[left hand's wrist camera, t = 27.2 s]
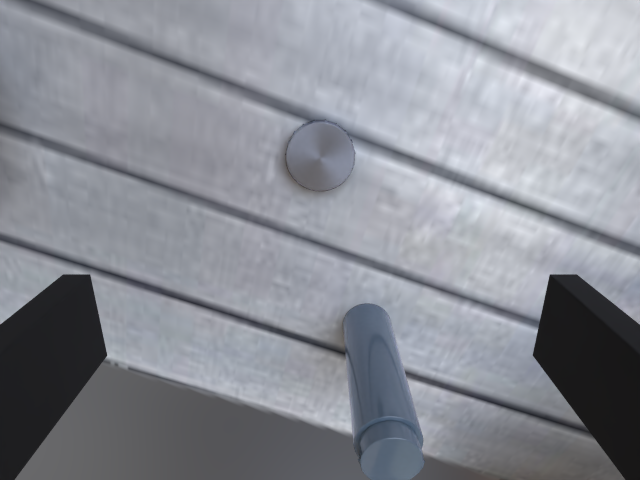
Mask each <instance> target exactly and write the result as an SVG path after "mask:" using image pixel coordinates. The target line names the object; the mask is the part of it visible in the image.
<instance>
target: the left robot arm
mask: <svg viewBox="0 0 640 480" xmlns="http://www.w3.org/2000/svg"><path fill="white" fill-rule="evenodd" d="M106 356H107V352H106V347H105V343H104V338H103V333H102V329H101V324H100V319H99V314H98V310H97V305H96V300H95V295H94V291H93V286H92V281H91V277H90V275H62V276H61V277H60V278H58V279H57V280H56V281H55V282H53V283H52V284H51V285H50V286H48V287H47V288H46V289H45V290H43V291H42V292H41V293H40V294H38V295H37V296H36V297H35V298H33V299H32V300H31V301H30V302H28V303H27V304H26V305H24V306H23V307H22V308H21V309H19V310H18V311H17V312H16V313H14V314H13V315H12V316H11V317H9V318H8V319H7V320H6V321H4V322H3V323H2V324H1V325H0V480H15V478H16V477H17V475H18V474H19V473H20V471H21V470H22V469H23V468H24V466H25V465H26V463H27V462H28V461H29V459H30V458H31V457H32V455H33V454H34V453H35V451H36V450H37V449H38V447H39V446H40V445H41V443H42V442H43V441H44V439H45V438H46V437H47V435H48V434H49V433H50V431H51V430H52V429H53V427H54V426H55V425H56V423H57V422H58V421H59V419H60V418H61V416H62V415H63V414H64V412H65V411H66V410H67V409H68V407H69V406H70V405H71V403H72V402H73V400H74V399H75V398H76V396H77V395H78V394H79V392H80V391H81V390H82V388H83V387H84V386H85V384H86V383H87V382H88V380H89V379H90V378H91V376H92V375H93V374H94V372H95V371H96V370H97V368H98V367H99V366H100V364H101V363H102V362H103V360H104V359H105V358H106ZM533 356H534V358H535V359H536V360H537V362H538V363H539V364H540V366H541V367H542V368H543V370H544V371H545V372H546V374H547V375H548V376H549V378H550V379H551V380H552V382H553V383H554V384H555V386H556V387H557V388H558V390H559V391H560V392H561V394H562V395H563V396H564V398H565V399H566V400H567V402H568V403H569V405H570V406H571V407H572V409H573V410H574V411H575V413H576V414H577V415H578V417H579V418H580V419H581V421H582V422H583V423H584V425H585V426H586V427H587V429H588V430H589V431H590V433H591V434H592V435H593V437H594V438H595V439H596V441H597V442H598V443H599V445H600V446H601V447H602V449H603V450H604V451H605V453H606V454H607V455H608V457H609V458H610V459H611V461H612V462H613V464H614V465H615V466H616V468H617V469H618V470H619V472H620V473H621V474H622V476H623V477H624V478H625V480H640V325H639V324H638V323H637V322H636V321H634V320H633V319H632V318H631V317H629V316H628V315H627V314H626V313H624V312H623V311H622V310H621V309H619V308H618V307H617V306H616V305H614V304H613V303H612V302H610V301H609V300H608V299H607V298H605V297H604V296H603V295H602V294H600V293H599V292H598V291H597V290H595V289H594V288H593V287H592V286H590V285H589V284H588V283H587V282H585V281H584V280H583V279H582V278H580V277H579V276H578V275H550V277H549V281H548V286H547V291H546V295H545V300H544V305H543V310H542V314H541V319H540V324H539V329H538V333H537V338H536V343H535V347H534V352H533Z"/></svg>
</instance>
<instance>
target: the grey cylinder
mask: <svg viewBox="0 0 640 480" xmlns="http://www.w3.org/2000/svg"><path fill="white" fill-rule="evenodd" d="M343 331H344V343H345V354H346V365H347V376H348V387H349V398H350V409H351V420H352V432H353V443H354V449H355V452H356V454H357V456H358V457H359V458H360V459H358V461H359V463H360V466H361V469H362V471H363V473H364V474H365V475H366V476H367V477H368V478H369V479H370V480H410V479H412V478H413V477H415V476H416V475H417V474H418V473H419V472H420V470H421V469H422V468H423V466H424V463H425V460H424V458H423V453H422V446H423V436H422V432H421V429H420V425H419V421H418V418H417V414H416V411H415V407H414V404H413V400H412V396H411V393H410V389H409V386H408V382H407V379H406V375H405V371H404V368H403V364H402V361H401V357H400V354H399V350H398V347H397V343H396V339H395V336H394V332H393V329H392V325H391V322H390V318H389V316H388V314H387V312H386V311H385V310H384V309H382V308H381V307H379V306H377V305H374V304H361V305H358V306H356V307H354V308H352V309H351V310H350V311H349V312H348V313H347V314H346V316H345V318H344V321H343Z"/></svg>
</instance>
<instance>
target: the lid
mask: <svg viewBox="0 0 640 480" xmlns="http://www.w3.org/2000/svg"><path fill="white" fill-rule="evenodd" d="M352 143H353V142H352V140H350V138H349V136H348V134H347V132H346V130H343V129H342V128H341V127H340V126H338V125H337V123H336V124H335V123H332V122H329V121H326V120H316V121H315V120H313V121H311V122H308V123H306V124H303V125H302V126H301V127H300V128H299V129H297V131H294V133H293V136H292V137H291V139H290V141H289V142H288V147H287V151H286V154H285V155H286V162H287V167H288V170H289V172H290V174H291V175H292V177H293V178H294V179H295V181H297V182H298V183H299V184H300V185H302V186H303V187H305V188H307V189H310V190H314V191H327V190H331V189H334V188H336V187H338V186H339V185H341V184H342V183H343V182H344V181H345V180H346V179H347V178H348V177H349V175H350V173H351V171H352V169H353V166H354V161H355V151H354V148H353V145H352Z"/></svg>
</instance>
